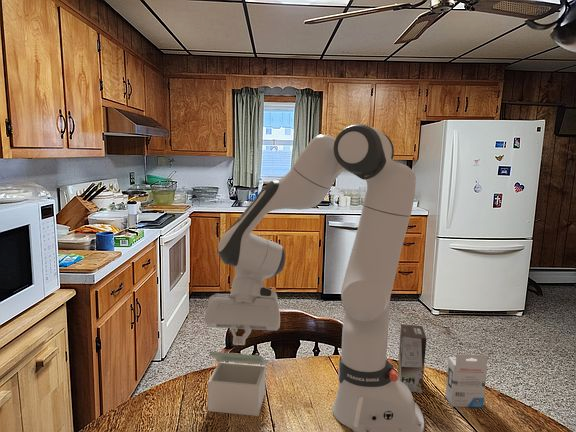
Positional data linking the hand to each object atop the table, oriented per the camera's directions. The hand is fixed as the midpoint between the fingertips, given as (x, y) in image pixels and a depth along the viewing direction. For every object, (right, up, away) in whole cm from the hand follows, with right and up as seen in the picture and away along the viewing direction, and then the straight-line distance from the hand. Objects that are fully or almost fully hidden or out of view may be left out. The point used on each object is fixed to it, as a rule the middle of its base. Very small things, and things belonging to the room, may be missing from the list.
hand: (238, 344), depth 103 cm
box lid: (0, -5, +2) cm, 5 cm away
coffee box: (+48, -16, +13) cm, 52 cm away
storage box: (-1, -16, +3) cm, 16 cm away
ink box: (+60, -17, +5) cm, 63 cm away
